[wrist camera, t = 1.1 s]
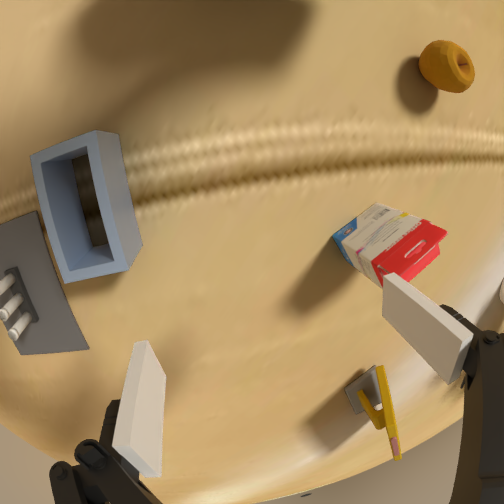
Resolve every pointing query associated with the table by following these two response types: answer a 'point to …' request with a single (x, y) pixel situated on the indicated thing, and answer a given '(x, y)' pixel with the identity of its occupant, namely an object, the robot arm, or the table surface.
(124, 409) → the robot arm
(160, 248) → the table surface
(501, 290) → the potted plant
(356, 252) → the ink box
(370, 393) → the yellow framed monitor
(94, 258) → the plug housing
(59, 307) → the header
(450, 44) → the apple
